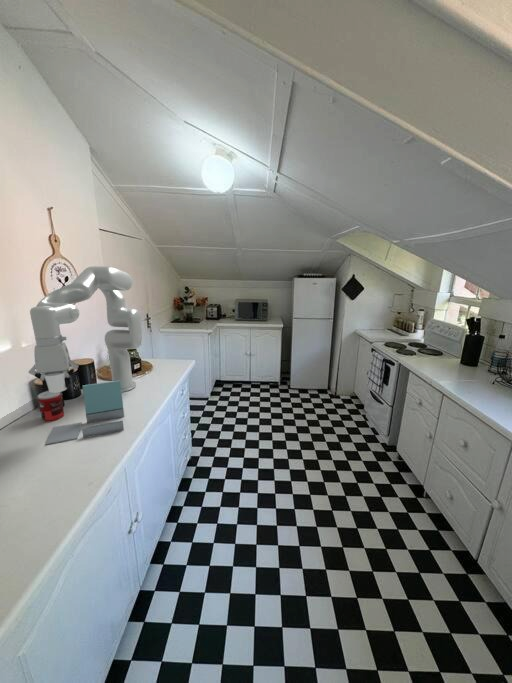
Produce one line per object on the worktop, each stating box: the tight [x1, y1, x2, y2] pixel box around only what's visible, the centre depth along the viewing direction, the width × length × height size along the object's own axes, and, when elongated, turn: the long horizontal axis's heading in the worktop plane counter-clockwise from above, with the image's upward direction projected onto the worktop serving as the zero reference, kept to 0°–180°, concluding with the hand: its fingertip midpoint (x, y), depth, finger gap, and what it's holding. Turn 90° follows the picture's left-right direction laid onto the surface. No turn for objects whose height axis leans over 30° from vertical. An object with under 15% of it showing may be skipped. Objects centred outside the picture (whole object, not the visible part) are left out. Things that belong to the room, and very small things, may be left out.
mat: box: [45, 421, 83, 446], centre depth 111 cm, size 12×10×1 cm
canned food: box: [37, 390, 65, 422], centre depth 121 cm, size 8×8×11 cm
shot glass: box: [44, 371, 68, 393], centre depth 105 cm, size 7×7×7 cm
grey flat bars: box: [81, 407, 125, 439], centre depth 116 cm, size 12×14×4 cm
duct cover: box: [82, 381, 124, 415], centre depth 120 cm, size 12×14×1 cm
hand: (57, 387), depth 106 cm, fingers closed on shot glass, 5 cm apart
